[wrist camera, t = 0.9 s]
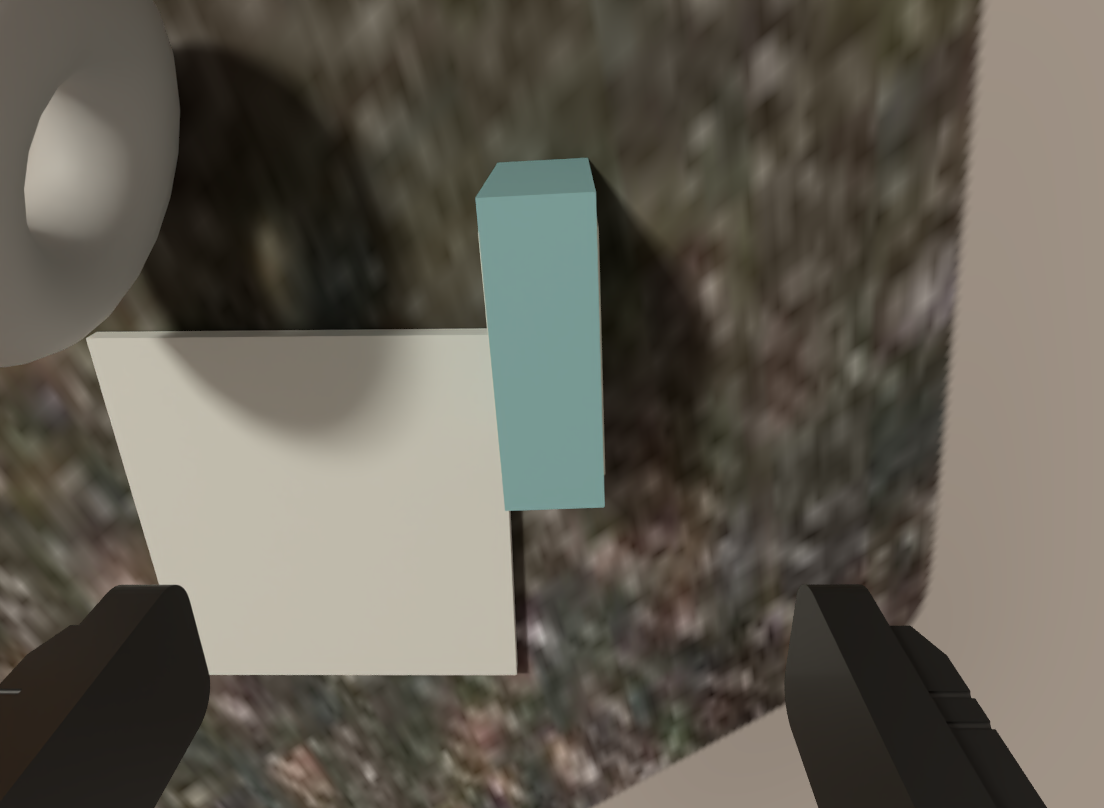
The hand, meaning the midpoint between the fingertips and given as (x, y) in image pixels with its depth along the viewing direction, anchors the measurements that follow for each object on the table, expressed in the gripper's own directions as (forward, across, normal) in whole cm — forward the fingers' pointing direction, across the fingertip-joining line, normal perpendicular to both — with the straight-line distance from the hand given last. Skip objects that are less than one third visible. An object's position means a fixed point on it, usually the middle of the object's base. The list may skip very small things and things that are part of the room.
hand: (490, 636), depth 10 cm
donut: (+15, +11, -6) cm, 19 cm away
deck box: (+15, 0, -1) cm, 15 cm away
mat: (+15, +8, +8) cm, 18 cm away
